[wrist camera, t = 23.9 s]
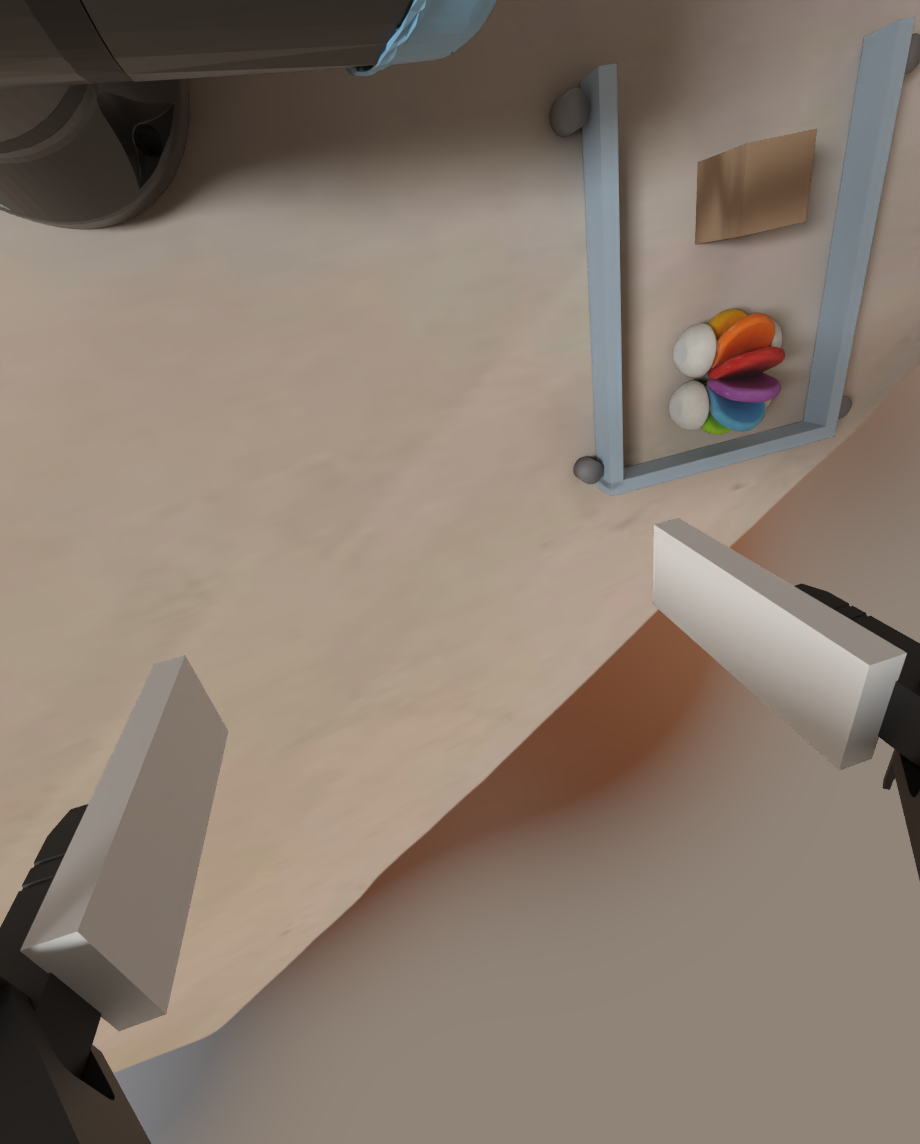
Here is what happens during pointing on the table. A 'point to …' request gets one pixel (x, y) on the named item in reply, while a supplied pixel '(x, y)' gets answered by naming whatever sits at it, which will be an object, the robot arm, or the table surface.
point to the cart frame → (847, 266)
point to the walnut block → (754, 187)
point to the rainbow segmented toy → (726, 372)
